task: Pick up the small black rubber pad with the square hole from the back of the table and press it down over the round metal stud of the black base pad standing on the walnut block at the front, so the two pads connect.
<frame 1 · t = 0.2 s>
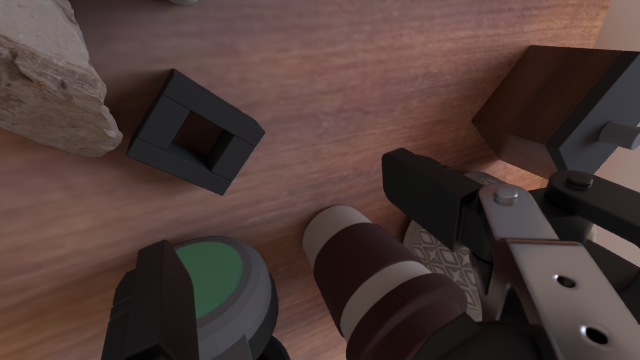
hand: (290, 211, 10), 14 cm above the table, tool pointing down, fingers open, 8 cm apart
coffee cup: (331, 230, 31), on the table
top pad: (197, 129, 21), on the table
headphones: (214, 302, 29), on the table
stone: (24, 13, 15), on the table
planter: (443, 220, 40), on the table
stand: (514, 108, 35), on the table
base pad: (591, 127, 28), resting on stand
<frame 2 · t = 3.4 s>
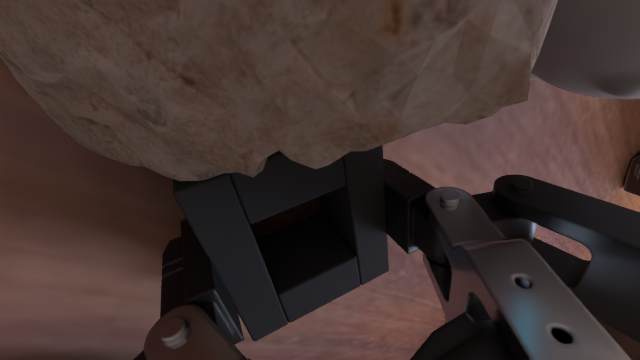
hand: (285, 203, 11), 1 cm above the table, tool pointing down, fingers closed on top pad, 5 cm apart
top pad: (281, 196, 11), on the table, touching gripper
stand: (513, 331, 33), on the table
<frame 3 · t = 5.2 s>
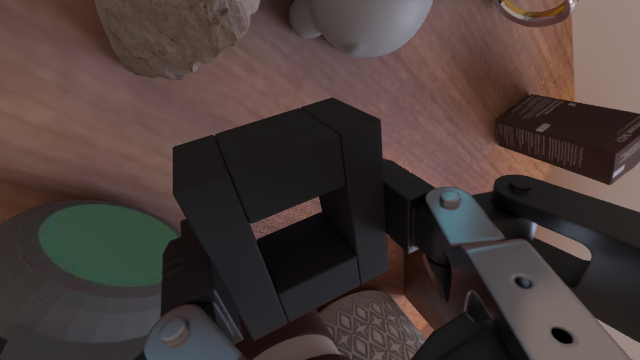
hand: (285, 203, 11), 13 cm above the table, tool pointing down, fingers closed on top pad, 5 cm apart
coffee cup: (253, 280, 30), on the table
top pad: (281, 196, 11), point 12 cm above the table, touching gripper
headphones: (81, 292, 22), on the table
box: (510, 119, 36), on the table
planter: (340, 327, 40), on the table
stand: (431, 259, 42), on the table
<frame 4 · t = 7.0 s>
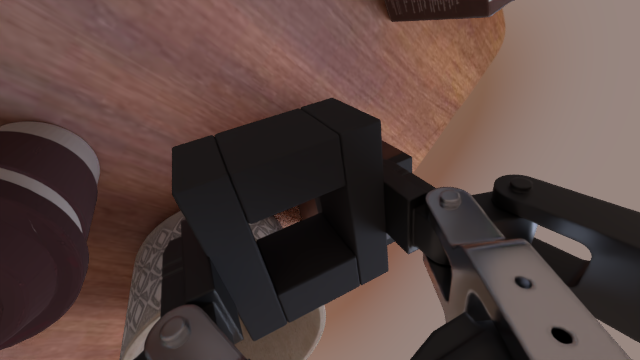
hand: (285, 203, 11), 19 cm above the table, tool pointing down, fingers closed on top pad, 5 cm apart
coffee cup: (46, 162, 23), on the table
top pad: (281, 196, 11), point 19 cm above the table, touching gripper
planter: (217, 254, 34), on the table
stand: (331, 177, 36), on the table
base pad: (365, 211, 30), resting on stand
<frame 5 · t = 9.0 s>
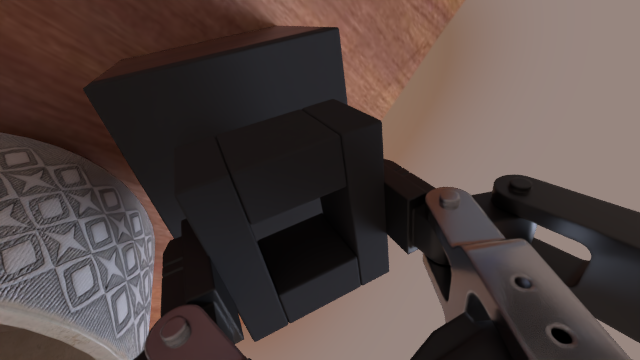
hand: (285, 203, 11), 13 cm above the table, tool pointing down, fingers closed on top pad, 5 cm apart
top pad: (281, 197, 11), point 12 cm above the table, touching gripper
planter: (14, 241, 19), on the table
stand: (230, 115, 21), on the table
base pad: (255, 155, 15), resting on stand
when the fingers open (10 cm above the table, at t = 10.5 s): top pad stays where it is, resting on base pad.
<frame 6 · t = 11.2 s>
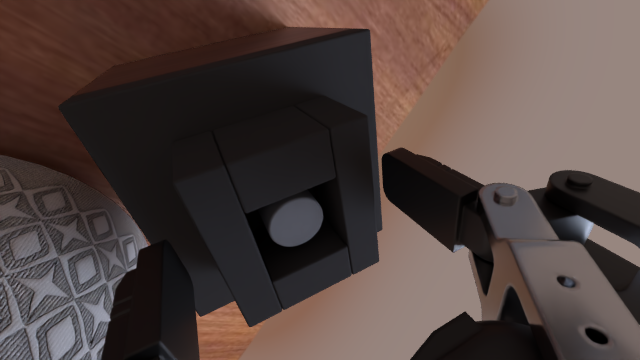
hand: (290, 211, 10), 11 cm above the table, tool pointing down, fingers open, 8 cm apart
top pad: (276, 190, 12), point 9 cm above the table, touching base pad
stand: (235, 125, 19), on the table
base pad: (267, 177, 13), resting on stand
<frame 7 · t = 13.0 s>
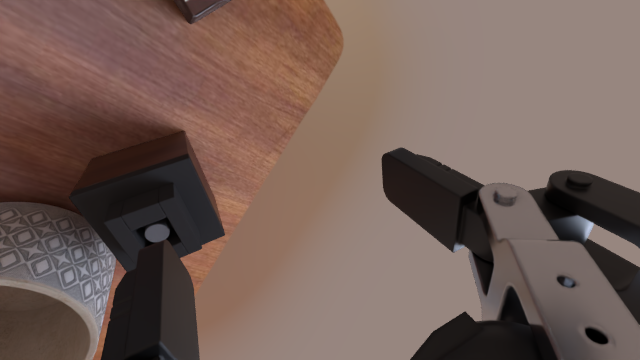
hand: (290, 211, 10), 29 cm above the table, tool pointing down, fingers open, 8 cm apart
top pad: (158, 219, 28), point 9 cm above the table, touching base pad
planter: (31, 257, 33), on the table
stand: (160, 180, 36), on the table
base pad: (158, 213, 29), resting on stand
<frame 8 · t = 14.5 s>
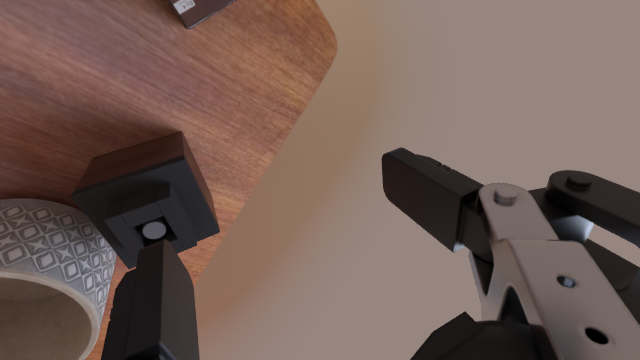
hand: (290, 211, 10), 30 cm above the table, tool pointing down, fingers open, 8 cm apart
top pad: (155, 217, 30), point 9 cm above the table, touching base pad
planter: (36, 251, 35), on the table
stand: (158, 178, 37), on the table
base pad: (156, 210, 31), resting on stand
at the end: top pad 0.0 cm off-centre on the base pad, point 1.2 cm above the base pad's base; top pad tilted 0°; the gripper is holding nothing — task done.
